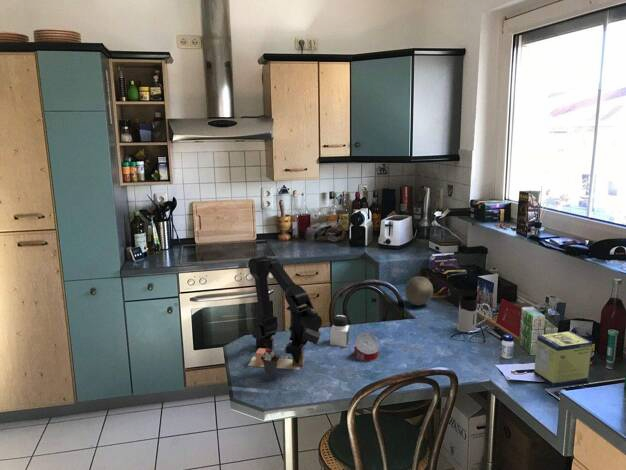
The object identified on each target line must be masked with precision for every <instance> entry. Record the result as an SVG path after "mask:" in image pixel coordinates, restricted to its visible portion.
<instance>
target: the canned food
mask: <svg viewBox="0 0 626 470" xmlns="http://www.w3.org/2000/svg"><path fill="white" fill-rule="evenodd" d="M379 349H380V344H379V341H378V339H377V338H376V337H375V335H374V334H373V333H371V332H367V331H366V332H362V333H361V334H359V335H357V336H356V338H355V344H354V348H353V350H354V351H353V356H354V358H356V359H357V360H360V361H363V362H364V361H365V362H369V361H375V360H377V359H378V358H379Z"/></svg>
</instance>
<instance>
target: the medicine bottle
mask: <svg viewBox="0 0 626 470" xmlns="http://www.w3.org/2000/svg"><path fill="white" fill-rule="evenodd" d="M329 333H330V334H329V337H330V338H329V339H330V341H329V344H330V346H339V347H341V348H347V347H348V344H349V342H350V341H349V340H350V325H348V318H347V316H346V315H343V314H342V315H341V314H340V315H339V314H337V315H335V316H333V317H332V326H331V328H330V331H329Z"/></svg>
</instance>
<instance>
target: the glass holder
mask: <svg viewBox="0 0 626 470" xmlns="http://www.w3.org/2000/svg"><path fill="white" fill-rule="evenodd" d="M458 304H459V305H458V319H457V320H458V321H457V326H456V330H457V331H459V332H462V333H465V332H468V331H471V330H475V329H476V330H477V326H478V325H480V324H481V323H483V322H485V321H486V320H487V319H488V318H489V317H490V314H491V312H490V311H491V307H490V305H489V304H488V303H482V304H481V305H480V306H479V310H478V309H477V307H478V306H477V305H478V297H476V296H474V295H470V294H469V295H467V294H465V295H464V294H463V295H461V296H460V297H459V303H458ZM483 305H485V306H487V308H488V314H487V316H486V318H484V319H483V320H482V321H480V322H478V323H477V316H478V315H477V313H480V312H481V310H482V306H483Z"/></svg>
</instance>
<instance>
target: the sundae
mask: <svg viewBox="0 0 626 470" xmlns="http://www.w3.org/2000/svg"><path fill="white" fill-rule="evenodd" d="M265 345H266V344H265ZM266 346H267V345H266ZM265 351H266V352H265V353H264V355H263V356H261V360H262V361H263V363H264V367H263V369H264V372H265V374H266V375H268V382H273V381H274V380H273V375H274V374H275V373H276V372H277V369H278V368H277V361H278V360H279V358H280V355H278V354H276V353H275V351H273V349H271V350H270V349H268V346H267V349H266V350H265Z"/></svg>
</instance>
